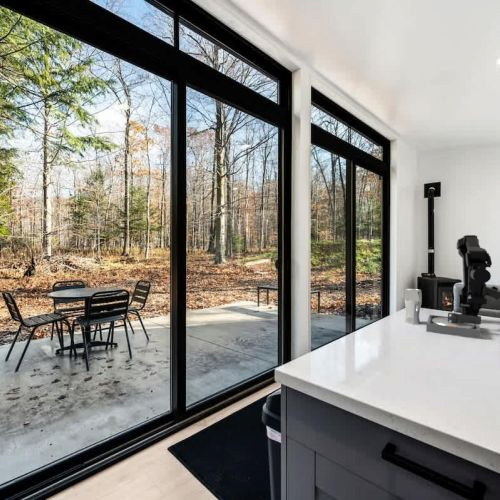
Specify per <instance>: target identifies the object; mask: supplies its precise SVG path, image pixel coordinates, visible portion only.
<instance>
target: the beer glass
mask: <svg viewBox="0 0 500 500" xmlns="http://www.w3.org/2000/svg"><path fill="white" fill-rule="evenodd" d="M403 298H404V307H405V315H406V316H405V323H407V324H412V325H420V324H421V321H420V312H421V306H422V299H423V298H422V290H421V289H418V288H404V297H403Z"/></svg>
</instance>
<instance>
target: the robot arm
mask: <svg viewBox="0 0 500 500" xmlns="http://www.w3.org/2000/svg"><path fill="white" fill-rule="evenodd" d="M479 243H480V240H479V238H478V235H474V234H466V235H463V237H461V238H459V239H457V242H456V250H457V251H458V252H457V253H458V255H459V256H460V258H461V259H462V277H463V278H462V279H463V280H462V281H463V287H462V288H461V290H460V291H459V294H458V298H457V307H458V308H461V309H460V310H461V313H460V314H465V315H474V316H479V313H480V310H482V307H483V305H488V303H487V302H488V299H487V296H488V297H491V298H492V299H495V300H497V301H500V290H498V289H499V288H498V287H497V286H494V285H493V286H491V287H490V286H487V283H488V282H489V281H490V280H491V277H492V275H491V272H490V271H489V270H488V269H487V268H491V267H492V263H493V262H492V258H491V255H490V253H489V252H488V251H487V250H486V249H485V248H483V247H481V245H480V244H479Z"/></svg>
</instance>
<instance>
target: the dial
mask: <svg viewBox="0 0 500 500" xmlns="http://www.w3.org/2000/svg"><path fill="white" fill-rule="evenodd" d="M447 317H448V318H443V317H440V318H433V319H432V324H439V325H447V326H449V325H451V326H456V327H462V328H470V329H475V324H479V325H482V316H481V315H478V316H474V315H465V314H461V313H456V312H447Z"/></svg>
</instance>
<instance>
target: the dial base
mask: <svg viewBox="0 0 500 500" xmlns="http://www.w3.org/2000/svg"><path fill="white" fill-rule="evenodd" d="M440 317H443V318H448V316H443V315H435V314H434V315H433V314H429V315H428V318H427V321H426V325H425V326H426V332H427V333H435V334H443V335H450V336H457V337H464V338H472V339H477V340H478V339H479V340H481V332H482V331H481V327H480V324H475V329H470V328H462V327H456V326H451V325H449V326H447V325H439V324H432V319H433V318H440Z"/></svg>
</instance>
